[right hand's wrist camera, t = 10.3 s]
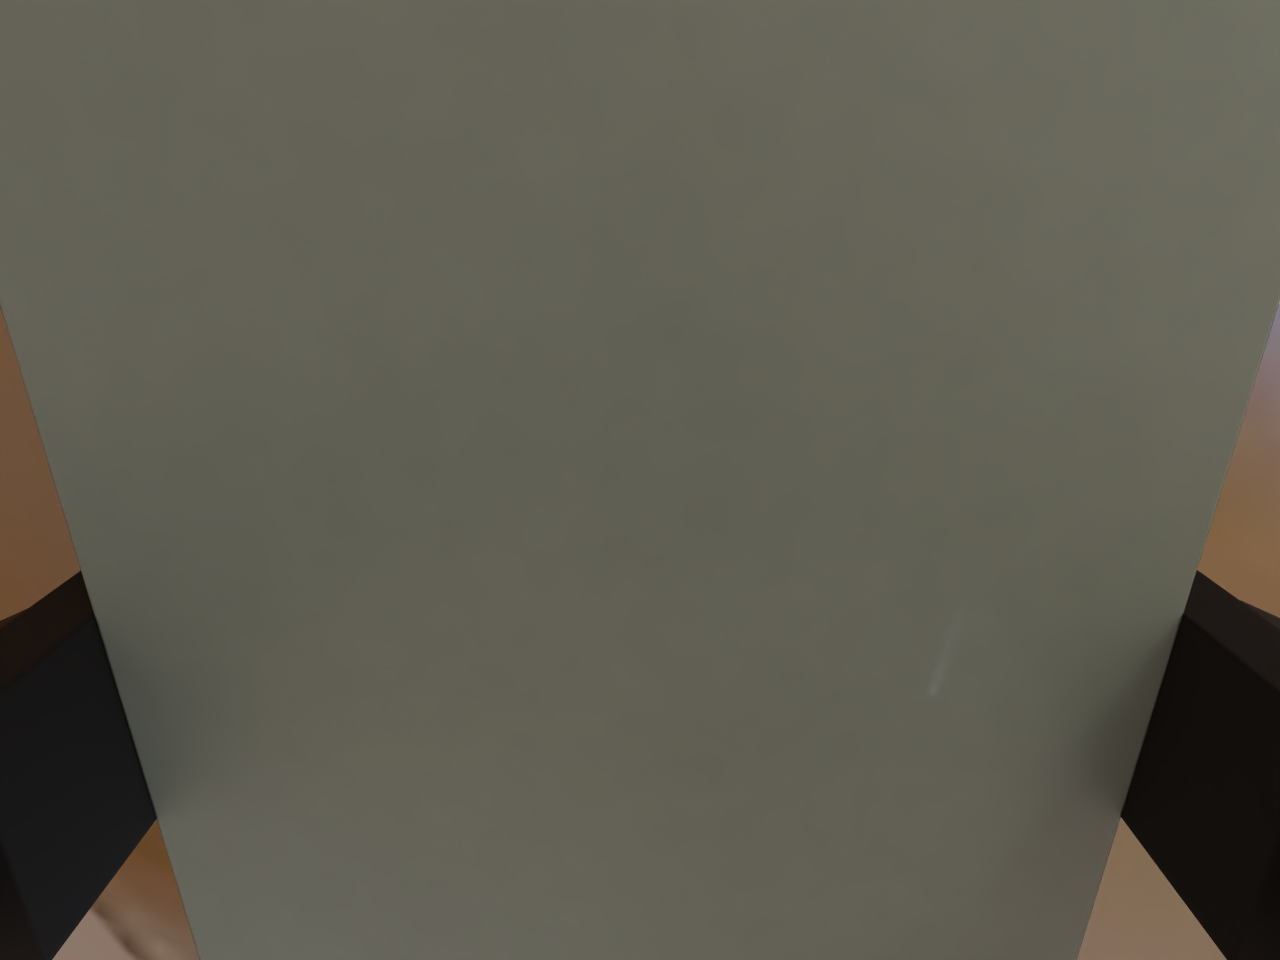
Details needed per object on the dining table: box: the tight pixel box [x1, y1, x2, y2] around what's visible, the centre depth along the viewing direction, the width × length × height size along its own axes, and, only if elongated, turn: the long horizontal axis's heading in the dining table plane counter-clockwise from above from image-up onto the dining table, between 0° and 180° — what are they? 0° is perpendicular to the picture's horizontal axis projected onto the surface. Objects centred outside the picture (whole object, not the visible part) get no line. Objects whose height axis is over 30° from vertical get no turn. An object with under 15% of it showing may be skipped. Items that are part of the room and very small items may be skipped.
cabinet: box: [0, 0, 1280, 960], centre depth 12 cm, size 18×11×10 cm, turn 0°
